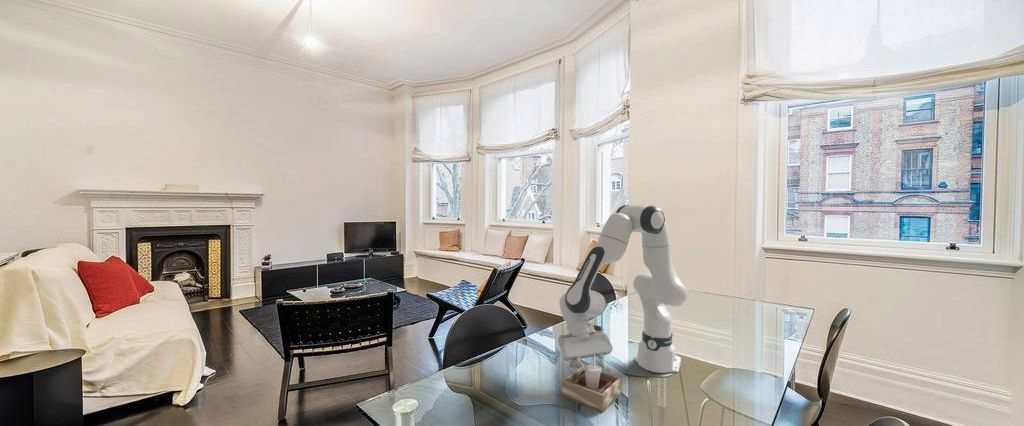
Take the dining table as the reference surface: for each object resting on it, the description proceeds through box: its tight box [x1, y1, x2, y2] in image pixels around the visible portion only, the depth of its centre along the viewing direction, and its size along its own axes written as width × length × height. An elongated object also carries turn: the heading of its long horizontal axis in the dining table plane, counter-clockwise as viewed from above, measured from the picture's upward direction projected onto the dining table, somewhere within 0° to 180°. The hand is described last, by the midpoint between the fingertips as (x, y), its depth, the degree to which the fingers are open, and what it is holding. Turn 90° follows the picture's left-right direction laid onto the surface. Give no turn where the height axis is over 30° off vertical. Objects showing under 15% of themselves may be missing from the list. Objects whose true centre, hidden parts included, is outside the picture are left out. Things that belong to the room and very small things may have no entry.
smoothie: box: [585, 355, 603, 391], centre depth 146 cm, size 6×6×14 cm
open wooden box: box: [561, 366, 623, 413], centre depth 146 cm, size 16×16×6 cm
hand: (593, 368), depth 145 cm, fingers closed on smoothie, 6 cm apart
